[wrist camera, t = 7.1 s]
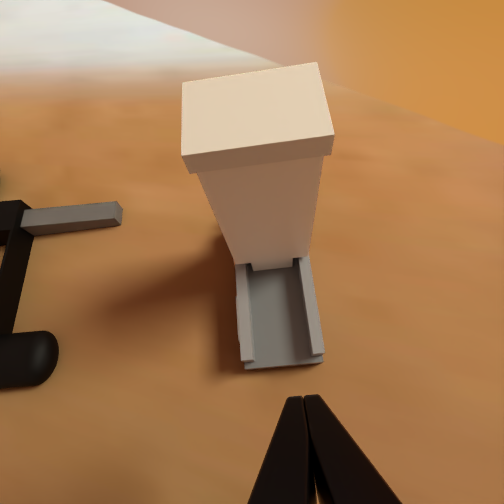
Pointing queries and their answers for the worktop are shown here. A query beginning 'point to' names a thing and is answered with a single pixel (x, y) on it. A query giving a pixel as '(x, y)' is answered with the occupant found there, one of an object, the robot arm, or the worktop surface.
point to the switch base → (278, 316)
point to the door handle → (13, 273)
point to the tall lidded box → (259, 157)
